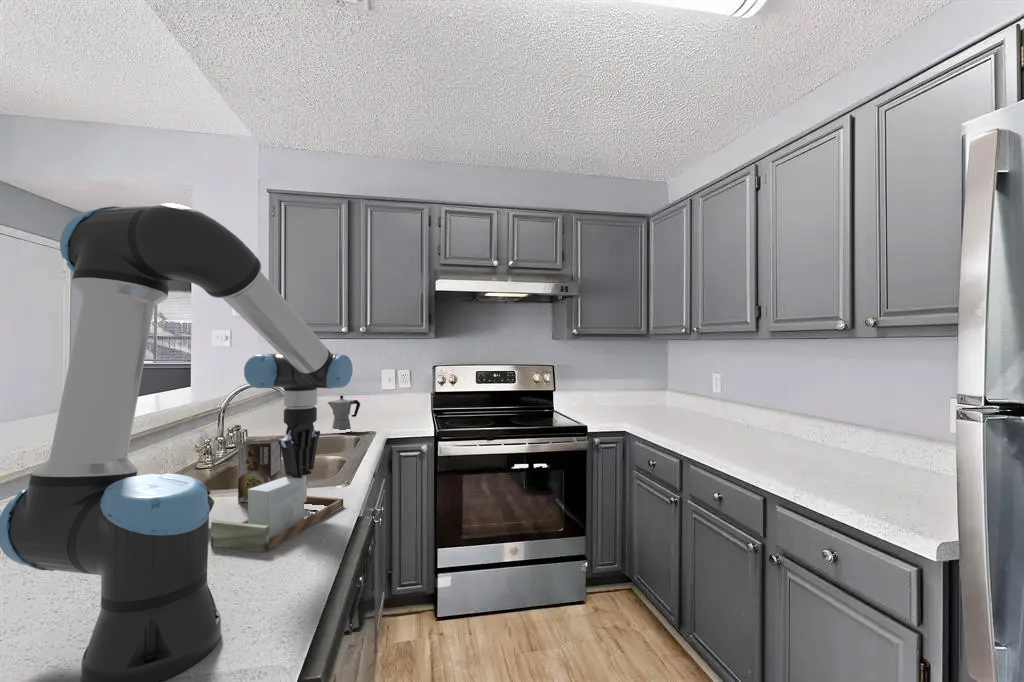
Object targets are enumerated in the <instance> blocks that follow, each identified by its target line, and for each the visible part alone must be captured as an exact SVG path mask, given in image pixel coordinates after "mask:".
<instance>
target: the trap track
mask: <svg viewBox="0 0 1024 682" xmlns="http://www.w3.org/2000/svg"><path fill="white" fill-rule="evenodd" d="M304 504H312V505H324V506H327V507H325V508H324V509H322V510H320V511H318V512H316V513H315V514H313V515H311V516H309V517H304V520H302V521H300V522H298V523H296V524H295V525H293V526H291V527H289V528H287V529H285V530H284V531H282V532H280V533H278V534H276V535H275V536H273V537H271V538H269V526H268V525H258V524H249V523H248V518H247V519H245V520H244V521H241V522H239V521H229V520H218V519H215V520H213V521H211V523H210V547H214V548H215V547H216V546H217V548H223V547H224V548H226V549H233V550H243V551H249V552H250V551H251V552H257V553H266V552H268V551H270V550H272V549H273V548H275V547H277V546H278V545H280V544H282V543H283V542H285V541H286V540H288V539H290V538H292V537H294V536H296V535H297V534H299V533H300V532H302V531H303V530H305V529H307V528H309V527H311V526H312V525H314V524H316V523H317V521H318V522H320V521H321V520H323V519H325V518H326V517H328V516H330V515H331V514H333V513H334V511H335V512H336V510H337V509H338V510H340V509H341V508H340V507H342V506H343V507H344V498H337V497H323V496H314V495H313V496H312V495H307V501H306V502H304ZM343 507H342V508H343ZM339 508H340V509H339ZM338 510H337V511H338ZM332 512H333V513H332ZM329 514H330V515H329ZM327 515H328V516H327ZM322 518H323V519H322Z"/></svg>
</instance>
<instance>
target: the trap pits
mask: <svg viewBox="0 0 1024 682" xmlns="http://www.w3.org/2000/svg"><path fill="white" fill-rule="evenodd" d="M308 511H309V510H307V511H304V517H306V516H311V515H313V513H311V514H310V512H308ZM312 512H313V511H312ZM316 512H318V511H315V513H316Z"/></svg>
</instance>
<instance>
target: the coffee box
mask: <svg viewBox="0 0 1024 682" xmlns="http://www.w3.org/2000/svg"><path fill="white" fill-rule="evenodd" d="M279 439H280V438H250V439H246V440H245V441H242V442H240V443H238V444H237V460H238V461H237V503H238V502H248V489H250V488H253V487H256V486H259V485H262V484H265V483H268V482H271V481H274V480H277V479H280V478H282V450H281V447H280V445H279V443H278V441H279Z"/></svg>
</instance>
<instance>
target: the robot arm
mask: <svg viewBox="0 0 1024 682" xmlns="http://www.w3.org/2000/svg"><path fill="white" fill-rule="evenodd" d="M59 249H60V254H61V256H62V259H65V261H66V263H65V264H66V266H67V267H68V268H69V270H70V271H72V272H73V274H72V280H71V284H72V285H73V286H74V288H75V289H76V290H78V292H80V294H81V296H82V299H81V305H80V309H79V312H78V313H79V314H78V319H77V324H76V327H75V333H74V337H73V343H72V346H71V352H70V358H69V361H68V367H67V372H66V377H65V382H64V386H63V391H62V396H61V400H60V405H59V409H58V415H57V419H56V424H55V430H54V435H53V440H52V445H51V447H50V455H49V458H48V460H46V461H45V462H44V463H42V464H41V465H39V466H38V467H36V468H35V469H33V470H32V472H31V473H30V477H29V481H28V482H29V483H28V486H27V487H25V488H23V489H22V490H20V491H18V493H17V494H16V497H15V498H13V499H10V500H9V501H8V503H7V504H5V506H4V508H3V510H2V512H1V514H0V549H1V551H2V552H3V553H4V555H6V557H8V558H9V559H10V560H11V561H13V562H15V563H17V564H19V565H23V566H26V567H27V566H28V567H30V568H32V569H35V570H39V571H48V572H49V571H50V572H51V571H57V572H58V571H59V572H66V573H77V574H87V575H97V576H100V577H101V578H100V579H101V580H100V582H101V583H100V585H101V586H100V591H101V592H100V610H99V614H98V617H97V620H96V622H95V625H94V627H93V631H92V634H91V637H90V639H89V642H88V645H87V646H86V649H85V651H84V653H83V655H82V658H81V681H82V682H161V681H164V680H167V679H169V678H171V677H173V676H175V675H179V674H180V673H181V672H184V671H186V670H187V669H189V668H191V667H192V666H194V665H196V664H197V663H198V662H200V661H201V660H202V659H204V658H205V657H206V656H207V655H208V654H210V653H211V652H212V651H213V650H214V648H215V647H216V646H217V645H218V643H219V641H220V639H221V634H222V618H221V614H220V611H218V609H217V605H216V602H215V599H214V596H213V594H212V592H211V589H210V587H209V584H208V564H209V563H208V560H209V559H208V558H209V557H208V556H209V532H210V530H209V528H210V526H209V525H210V513H211V511H210V512H209V509H210V508H209V504H208V495H207V489H206V487H205V486H206V485H205V484H204V483H203V482H202V481H201V480H200V479H198V478H196V477H194V476H189V475H185V474H179V473H163V474H157V473H148V474H147V473H146V474H140V475H139V474H138V470H139V469H138V467H136V466H135V464H133V463H132V462H131V461H130V460H129V457H128V455H129V448H130V444H131V438H132V432H133V427H134V421H135V415H136V410H137V403H138V400H139V399H138V398H139V394H140V393H139V392H140V387H141V382H142V377H143V371H144V365H145V359H146V353H147V347H148V342H149V337H150V336H149V335H150V331H151V325H152V320H153V314H154V310H155V307H156V306H157V305H159V304H160V303H162V302H164V301H166V300H167V299H168V296H169V290H170V286H171V285H170V284H171V281H184V282H188V283H192V284H194V285H197V287H200V288H201V289H203V290H204V291H205V292H206V293H207V294H208V295H209V296H210V297H213V298H215V299H223V300H224V301H225V302H226V303H227V304H228V305H229V307H231V308H232V309H233V310H234V311H235V312H236V313H237V314H238V315H239V316H240V317H241V318H242V319H243V320H244V321H245V322H246V323H247V324H248V325H250V326H251V327H252V329H254V330H255V331H256V332H257V333H258V334H259V335H260V336H261V337H262V338H263V339H264V340H265V342H267V343H268V344H269V345H270V346H271V347H272V348H273V349H275V351H276V352H278V353H261V354H255V355H253V356H251V357H249V358H248V359H247V361H246V363H245V364H244V366H243V367H244V370H243V376H244V379H245V380H246V382H247V384H248V385H249V386H251V387H252V388H254V389H255V388H256V389H270V388H283V393H284V394H283V406H284V407H285V408H284V409H283V423H284V424H285V425H286V427H287V428H286V429H285V436H284V437H283V439H282V438H278V439H279V441H278V443H279V445H280V447H281V456H282V460H283V465H284V473H285V475H286V476H285V477H291V478H301V479H303V481H304V484H303V485H304V487H303V488H304V502H306V501H307V496H308V492H307V489H308V488H307V487H308V475H311V474H312V471H313V470H314V467H315V461H316V460H315V459H316V454H317V447H318V441H319V438H320V435H321V431H320V430H316V429H315V426H314V423H315V422H317V419H318V414H317V413H318V409H317V407H316V406H317V404H318V389H328V390H330V389H342V388H345V387H347V386H348V385H349V384H350V382H351V379H352V376H353V370H354V369H353V363H352V360H351V359H350V357H349V356H348V355H345V354H339V353H332V352H331V351H330V350H329V349H328V347H327V346H326V345H325V344H324V343H323V342H322V341H321V339H320V338H319V337H318V336H317V335H316V334H315V333H314V332H313V330H312V329H311V328H310V327H309V326H308V324H307V323H306V322H305V321H304V320H303V319H302V317H301V316H300V315H299V314H298V313H297V311H296V310H295V309H294V308H293V307H292V306H291V305H290V303H288V301H287V300H286V299H285V298H284V296H283V295H281V293H280V292H279V291H278V290H277V288H276V287H275V286H274V284H272V283H271V282H270V280H269V279H268V278H267V277H266V276H265V275H264V273H263V272H262V263H261V261H260V260H259V258H258V257H257V256H256V255H255V253H254V252H253V251H252V250H251V249H250V248H249V247H248V246H247V245H246V244H245V243H244V241H242V240H241V238H239V237H238V236H237V235H236V234H235V233H233V232H232V231H231V230H229V229H228V228H227V227H226V226H224V225H223V224H221V223H220V222H219V221H217V220H216V219H214V218H212V217H210V215H207V214H205V213H204V212H201V211H199V210H196V209H194V208H191V207H188V206H184V205H181V204H175V203H158V204H151V205H147V204H146V205H135V206H133V205H131V206H116V205H114V206H113V205H110V206H103V207H99V208H94V209H91V210H87V211H84V212H81V213H79V214H77V215H75V216H74V217H73V218H71V219H70V220H69V221H68V223H67V224H66V225H65V226H64V228H63V230H62V232H61V235H60V239H59ZM137 474H138V475H137Z"/></svg>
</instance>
